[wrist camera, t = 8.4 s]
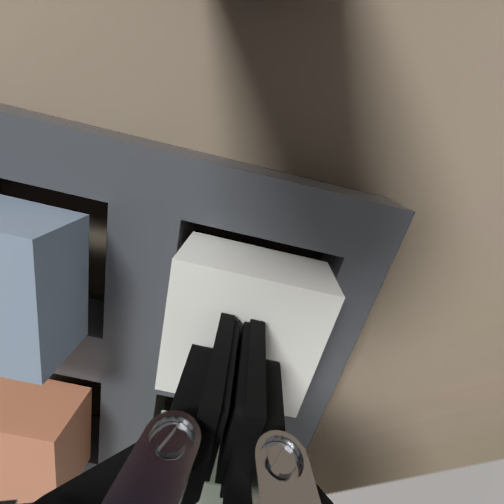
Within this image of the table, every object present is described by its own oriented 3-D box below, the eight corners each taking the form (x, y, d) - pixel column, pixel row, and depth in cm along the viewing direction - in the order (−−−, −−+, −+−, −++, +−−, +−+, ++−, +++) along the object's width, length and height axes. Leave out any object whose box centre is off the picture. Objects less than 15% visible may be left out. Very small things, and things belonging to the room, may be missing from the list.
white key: (327, 262, 13) (345, 297, 10) (290, 365, 15) (295, 417, 12) (193, 231, 12) (172, 258, 10) (175, 340, 15) (154, 389, 12)
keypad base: (385, 197, 14) (415, 212, 11) (272, 472, 22) (273, 521, 19) (-54, 90, 13) (-140, 77, 10) (-2, 419, 21) (-42, 462, 18)
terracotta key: (91, 387, 15) (53, 442, 13) (90, 457, 18) (57, 517, 15) (-21, 365, 15) (-85, 415, 12) (-8, 438, 17) (-60, 496, 15)
